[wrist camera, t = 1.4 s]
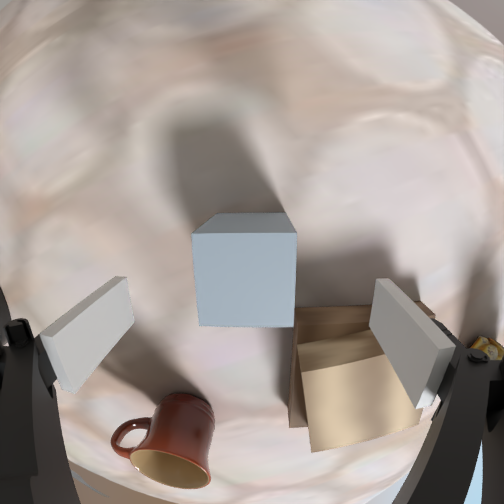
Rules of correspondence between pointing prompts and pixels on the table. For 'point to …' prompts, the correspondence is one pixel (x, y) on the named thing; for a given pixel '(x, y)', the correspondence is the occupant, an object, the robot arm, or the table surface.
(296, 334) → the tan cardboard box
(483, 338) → the decorative figurine
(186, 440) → the mug
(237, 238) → the block
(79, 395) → the table surface
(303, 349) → the slab upper
